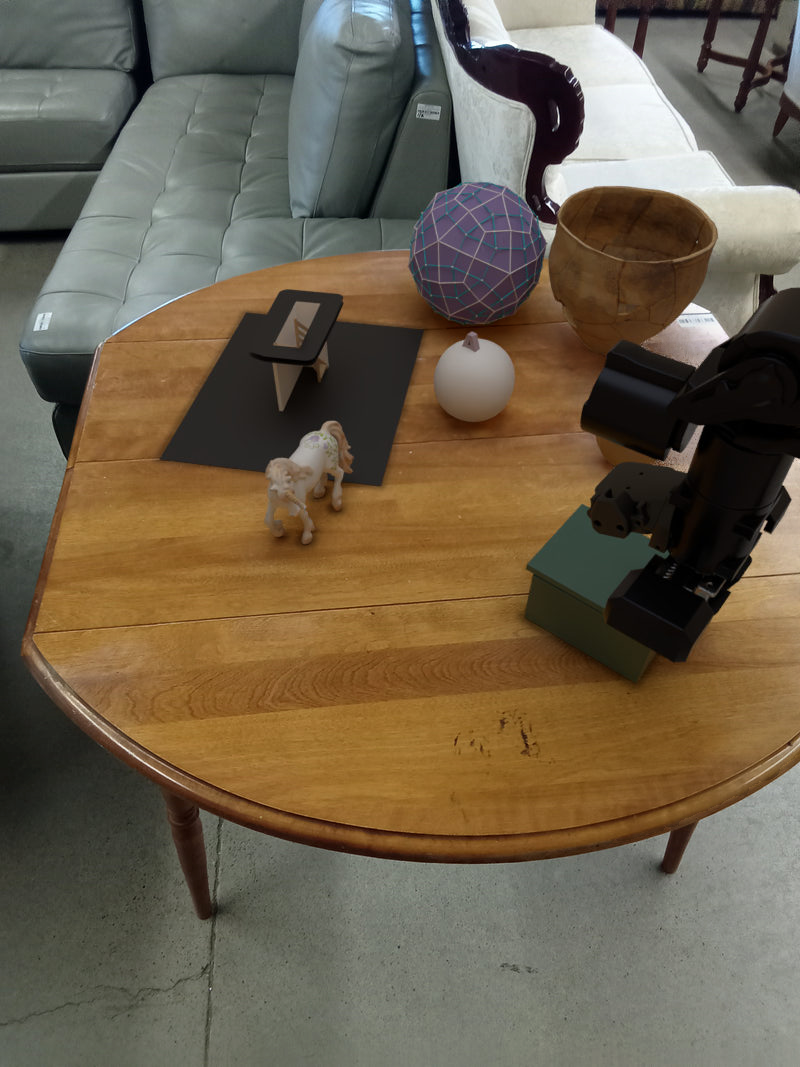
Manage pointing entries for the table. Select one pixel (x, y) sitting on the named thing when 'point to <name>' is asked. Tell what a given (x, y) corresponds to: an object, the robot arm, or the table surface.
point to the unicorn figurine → (307, 476)
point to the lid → (590, 559)
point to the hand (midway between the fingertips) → (673, 622)
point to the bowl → (627, 262)
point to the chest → (585, 629)
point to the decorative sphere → (476, 253)
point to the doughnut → (620, 453)
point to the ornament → (474, 379)
